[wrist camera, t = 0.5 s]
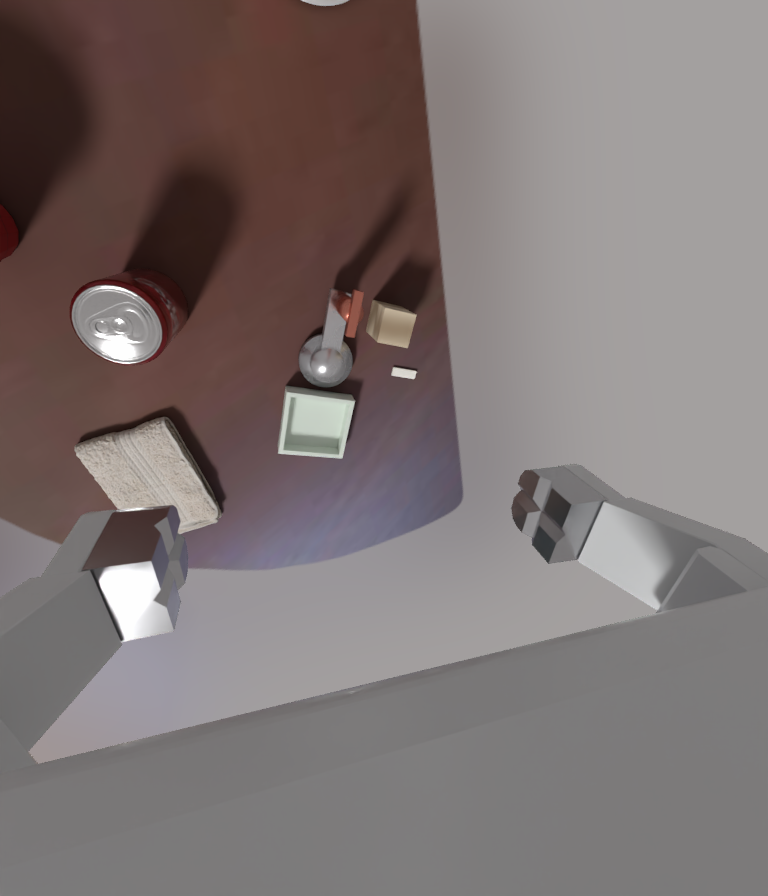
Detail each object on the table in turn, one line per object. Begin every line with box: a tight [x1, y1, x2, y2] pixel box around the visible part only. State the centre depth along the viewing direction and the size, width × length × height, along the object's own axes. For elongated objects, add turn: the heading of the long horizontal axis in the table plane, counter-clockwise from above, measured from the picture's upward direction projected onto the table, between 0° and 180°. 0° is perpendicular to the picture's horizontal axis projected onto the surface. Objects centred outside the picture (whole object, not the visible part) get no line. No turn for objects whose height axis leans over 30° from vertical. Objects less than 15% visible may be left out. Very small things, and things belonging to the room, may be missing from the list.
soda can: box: [70, 268, 188, 366], centre depth 37 cm, size 7×7×12 cm
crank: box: [310, 288, 364, 383], centre depth 43 cm, size 12×4×10 cm, turn 165°
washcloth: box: [75, 417, 222, 534], centre depth 51 cm, size 12×18×3 cm, turn 13°
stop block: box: [366, 300, 416, 348], centre depth 47 cm, size 4×4×6 cm
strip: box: [391, 367, 417, 379], centre depth 54 cm, size 1×4×1 cm, turn 75°
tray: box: [278, 386, 355, 458], centre depth 53 cm, size 9×9×2 cm
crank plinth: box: [298, 333, 353, 387], centre depth 50 cm, size 7×7×1 cm
